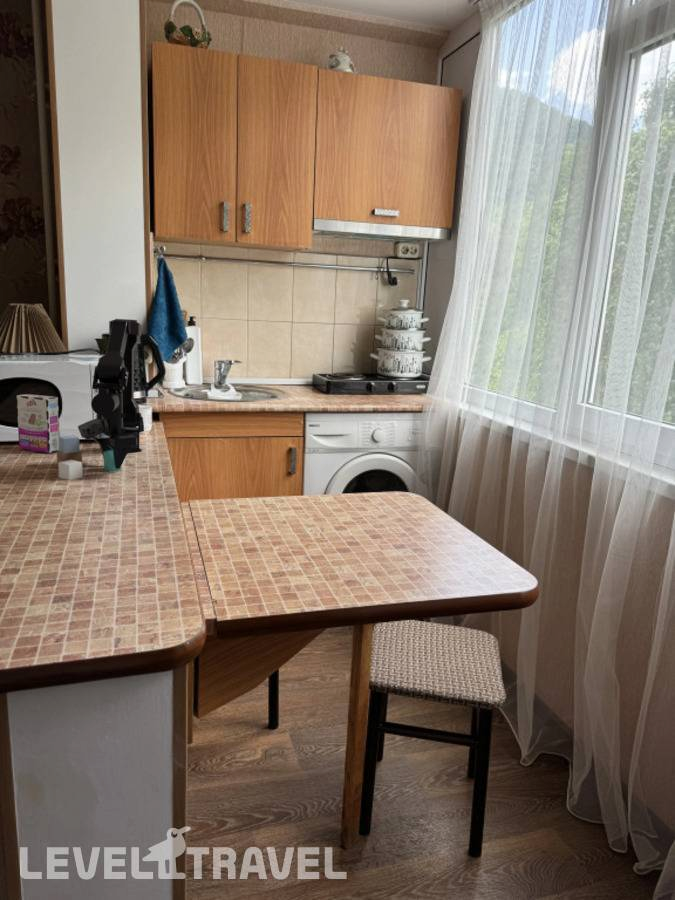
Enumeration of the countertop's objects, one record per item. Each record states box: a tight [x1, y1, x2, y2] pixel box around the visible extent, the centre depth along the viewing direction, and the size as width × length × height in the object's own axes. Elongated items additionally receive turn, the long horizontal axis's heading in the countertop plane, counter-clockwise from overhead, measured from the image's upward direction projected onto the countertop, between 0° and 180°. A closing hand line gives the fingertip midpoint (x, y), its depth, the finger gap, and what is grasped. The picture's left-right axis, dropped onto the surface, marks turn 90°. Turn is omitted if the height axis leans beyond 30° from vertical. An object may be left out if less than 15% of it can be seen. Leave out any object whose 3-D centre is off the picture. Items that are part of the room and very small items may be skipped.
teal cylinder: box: [103, 450, 122, 473], centre depth 175 cm, size 4×4×5 cm
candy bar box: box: [16, 393, 61, 454], centre depth 190 cm, size 11×5×16 cm, turn 73°
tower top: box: [59, 434, 80, 453], centre depth 176 cm, size 4×4×4 cm
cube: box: [57, 460, 83, 481], centre depth 166 cm, size 4×4×4 cm
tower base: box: [56, 450, 83, 465], centre depth 177 cm, size 5×5×4 cm
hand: (112, 465), depth 175 cm, fingers open, 7 cm apart
